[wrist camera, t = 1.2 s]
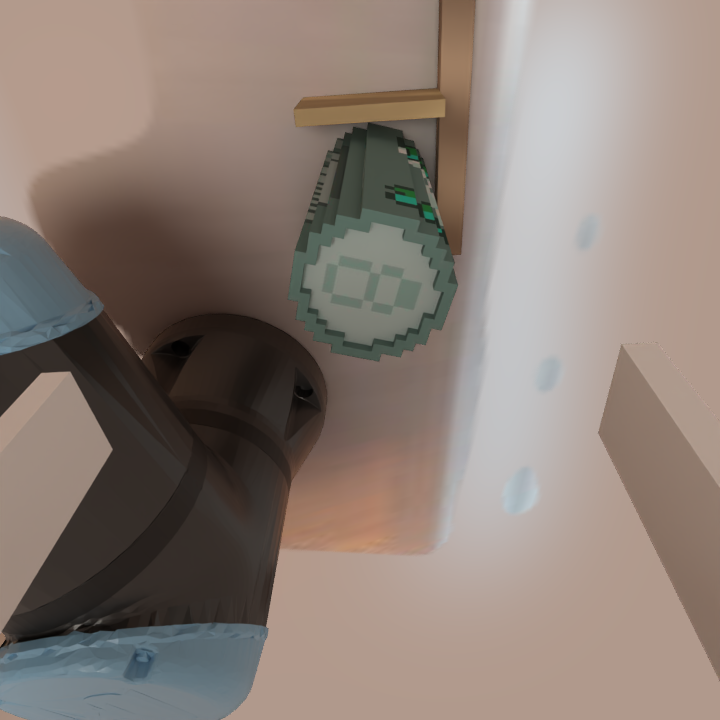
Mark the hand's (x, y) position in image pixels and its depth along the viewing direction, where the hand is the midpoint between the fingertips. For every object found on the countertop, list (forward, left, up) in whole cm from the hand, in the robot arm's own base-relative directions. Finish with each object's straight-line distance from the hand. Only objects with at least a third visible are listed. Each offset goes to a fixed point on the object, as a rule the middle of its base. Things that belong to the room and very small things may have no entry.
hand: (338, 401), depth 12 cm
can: (0, -1, -22) cm, 22 cm away
